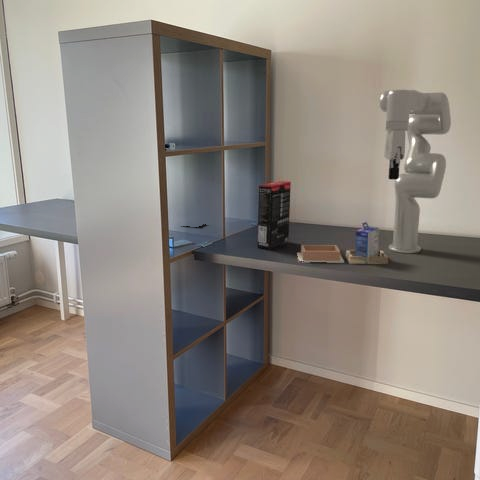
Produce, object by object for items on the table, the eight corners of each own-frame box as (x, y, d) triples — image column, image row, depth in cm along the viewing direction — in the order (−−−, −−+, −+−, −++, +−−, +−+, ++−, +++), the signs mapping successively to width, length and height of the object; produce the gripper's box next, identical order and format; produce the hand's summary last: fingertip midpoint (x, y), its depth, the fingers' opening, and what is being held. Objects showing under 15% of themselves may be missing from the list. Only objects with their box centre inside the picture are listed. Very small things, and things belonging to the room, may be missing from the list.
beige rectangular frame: (345, 257, 195) (346, 250, 194) (381, 257, 194) (382, 250, 194) (349, 264, 185) (350, 256, 185) (387, 265, 185) (388, 257, 184)
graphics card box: (276, 240, 223) (277, 180, 216) (290, 242, 219) (291, 181, 213) (256, 248, 209) (257, 184, 202) (271, 251, 205) (271, 185, 199)
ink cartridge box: (364, 256, 195) (366, 220, 192) (378, 258, 192) (380, 221, 189) (353, 261, 188) (355, 224, 184) (367, 264, 184) (369, 226, 181)
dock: (296, 254, 199) (297, 244, 198) (339, 255, 198) (340, 244, 197) (298, 263, 187) (299, 252, 186) (344, 263, 186) (344, 252, 185)
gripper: (381, 126, 180) (378, 176, 184) (391, 127, 166) (387, 181, 170) (402, 126, 180) (398, 176, 184) (414, 126, 165) (409, 181, 170)
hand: (393, 179), depth 177 cm, fingers closed
